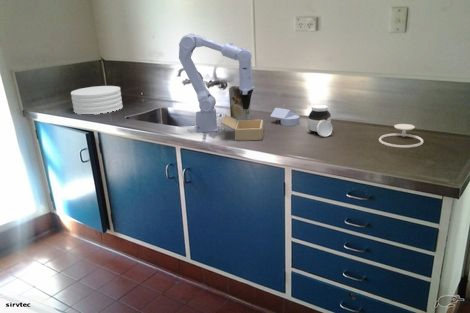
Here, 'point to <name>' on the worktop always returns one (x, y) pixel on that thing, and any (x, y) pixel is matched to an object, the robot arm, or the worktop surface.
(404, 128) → the hand towel holder
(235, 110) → the coffee box
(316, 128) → the spread jar
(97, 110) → the plate stack
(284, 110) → the wedge on round base
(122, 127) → the worktop surface
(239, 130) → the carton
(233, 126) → the lid flap
